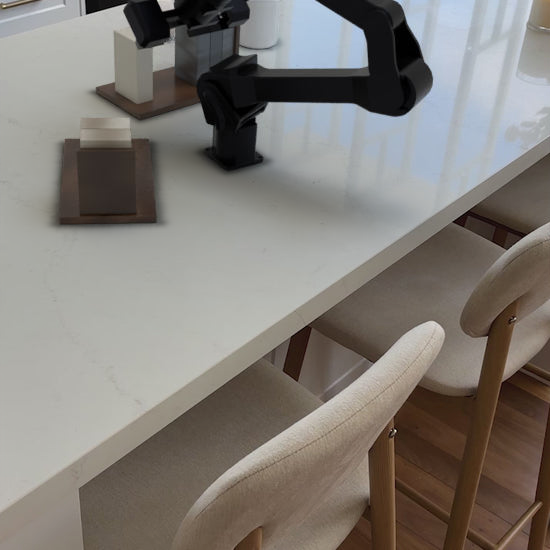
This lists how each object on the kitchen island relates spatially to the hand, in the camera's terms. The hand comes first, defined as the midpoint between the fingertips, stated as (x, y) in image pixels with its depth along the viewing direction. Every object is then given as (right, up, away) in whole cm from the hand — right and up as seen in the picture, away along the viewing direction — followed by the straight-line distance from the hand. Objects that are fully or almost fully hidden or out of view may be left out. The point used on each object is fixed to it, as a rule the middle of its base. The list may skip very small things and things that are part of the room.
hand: (163, 40), depth 129 cm
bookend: (0, -4, +16) cm, 17 cm away
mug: (+11, +10, +37) cm, 40 cm away
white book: (-6, -6, +11) cm, 14 cm away
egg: (-5, +9, +35) cm, 36 cm away
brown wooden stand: (-6, -22, -10) cm, 24 cm away
